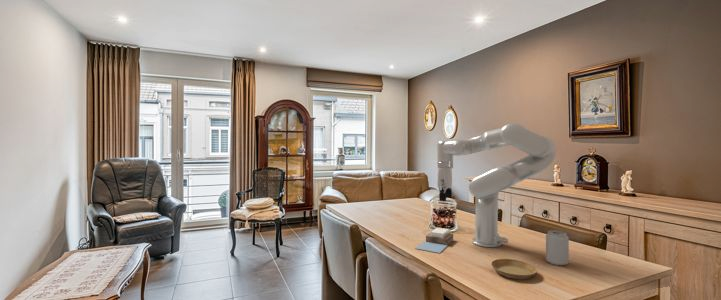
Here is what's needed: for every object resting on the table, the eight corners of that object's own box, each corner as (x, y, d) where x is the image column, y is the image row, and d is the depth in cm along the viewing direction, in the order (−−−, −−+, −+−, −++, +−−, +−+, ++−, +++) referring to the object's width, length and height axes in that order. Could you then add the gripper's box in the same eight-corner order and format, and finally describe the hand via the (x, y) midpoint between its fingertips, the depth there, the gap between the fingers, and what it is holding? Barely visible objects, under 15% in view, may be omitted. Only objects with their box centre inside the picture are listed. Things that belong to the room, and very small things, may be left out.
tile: (449, 233, 153) (449, 229, 153) (443, 238, 145) (443, 233, 145) (437, 231, 156) (437, 227, 156) (430, 236, 148) (430, 231, 148)
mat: (447, 246, 143) (447, 245, 143) (439, 253, 133) (439, 252, 133) (424, 242, 149) (424, 241, 149) (415, 249, 139) (415, 248, 139)
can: (565, 260, 124) (565, 230, 124) (571, 267, 117) (571, 235, 117) (543, 258, 127) (543, 228, 126) (548, 265, 120) (548, 233, 119)
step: (453, 240, 152) (453, 233, 152) (446, 245, 143) (446, 239, 143) (433, 236, 157) (433, 231, 157) (425, 242, 149) (425, 236, 149)
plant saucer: (538, 270, 115) (538, 263, 115) (535, 286, 103) (535, 278, 103) (495, 262, 123) (495, 256, 123) (487, 276, 111) (487, 268, 111)
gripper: (443, 164, 168) (443, 196, 168) (432, 166, 153) (432, 201, 153) (457, 164, 164) (457, 197, 164) (447, 166, 149) (448, 202, 149)
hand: (445, 199), depth 159 cm, fingers open, 9 cm apart
